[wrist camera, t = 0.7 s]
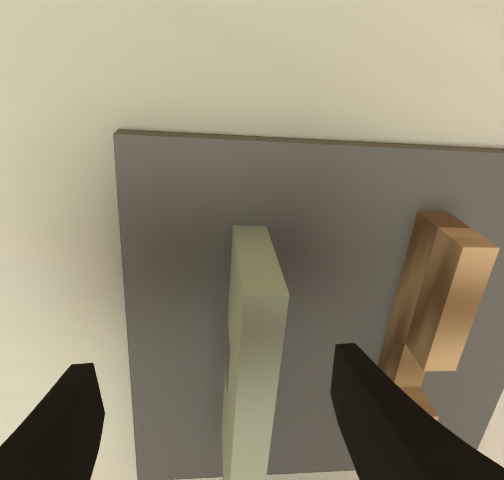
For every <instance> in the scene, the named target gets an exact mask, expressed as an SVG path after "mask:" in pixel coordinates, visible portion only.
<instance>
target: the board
mask: <svg viewBox="0 0 504 480" xmlns="http://www.w3.org/2000/svg"><path fill="white" fill-rule="evenodd" d="M113 138H114V152H115V166H116V180H117V195H118V209H119V223H120V237H121V251H122V266H123V280H124V294H125V308H126V323H127V337H128V351H129V365H130V379H131V394H132V408H133V422H134V436H135V450H136V465H137V479H138V480H174V479H194V478H213V477H223V460H222V437H221V432H222V414H223V396H224V378H225V365H229V362H230V343H229V331H228V305H229V287H230V269H231V251H232V233H233V225H243V226H267V229H268V232H269V235H270V238H271V241H272V244H273V247H274V250H275V253H276V256H277V259H278V262H279V265H280V268H281V271H282V274H283V277H284V280H285V283H286V286H287V289H288V292H289V303H288V310H287V318H286V326H285V334H284V342H283V349H282V357H281V365H280V373H279V381H278V388H277V396H276V404H275V412H274V420H273V428H272V435H271V443H270V451H269V459H268V467H267V474H266V475H273V474H292V473H312V472H332V471H351V470H355V467H354V465H353V462H352V459H351V457H350V454H349V452H348V449H347V447H346V444H345V441H344V439H343V436H342V434H341V431H340V428H339V425H338V422H337V418H336V414H335V411H334V407H333V403H332V399H331V395H330V390H331V381H332V371H333V362H334V353H335V344H345V343H356V344H357V345H358V346H359V347H360V348H361V349H362V350H363V351H364V352H365V353H366V354H367V356H368V357H369V358H370V359H371V360H372V361H373V362H374V363H375V364H376V365H377V366H378V363H379V359H380V356H381V352H382V348H383V344H384V340H385V336H386V332H387V328H388V324H389V320H390V317H391V313H392V309H393V305H394V301H395V297H396V293H397V289H398V285H399V281H400V277H401V274H402V270H403V266H404V262H405V258H406V254H407V250H408V246H409V242H410V238H411V235H412V231H413V227H414V223H415V219H416V215H417V211H438V212H449V213H451V214H452V215H453V216H455V217H456V218H458V219H459V220H461V221H462V222H463V223H465V224H466V225H468V226H469V227H471V228H472V229H473V230H475V231H476V232H478V233H479V234H481V235H482V236H484V237H485V238H486V239H488V240H489V241H491V242H492V243H494V244H495V245H496V246H498V247H499V248H500V249H499V252H498V254H497V257H496V260H495V263H494V265H493V268H492V271H491V274H490V277H489V279H488V282H487V285H486V288H485V290H484V293H483V296H482V299H481V301H480V304H479V307H478V310H477V313H476V315H475V318H474V321H473V324H472V326H471V329H470V332H469V335H468V338H467V340H466V343H465V346H464V349H463V351H462V354H461V357H460V360H459V363H458V365H457V368H456V371H425V374H424V378H423V381H422V384H421V389H422V390H423V392H424V393H425V395H426V397H427V398H428V400H429V401H430V403H431V405H432V406H433V408H434V409H435V411H436V413H437V414H438V416H439V418H438V422H439V423H441V424H442V425H443V426H444V427H446V428H447V429H449V430H450V431H451V432H453V433H454V434H455V435H457V436H458V437H459V438H461V439H462V440H463V441H465V442H466V443H467V444H469V445H470V446H472V447H473V448H475V449H476V450H477V449H478V446H479V444H480V442H481V439H482V437H483V435H484V432H485V430H486V428H487V426H488V423H489V421H490V419H491V416H492V414H493V412H494V409H495V407H496V405H497V403H498V400H499V398H500V396H501V393H502V391H503V389H504V149H492V148H472V147H453V146H433V145H413V144H393V143H374V142H354V141H334V140H314V139H295V138H275V137H255V136H236V135H216V134H196V133H176V132H157V131H137V130H117V131H116V132H115V133H114V134H113Z"/></svg>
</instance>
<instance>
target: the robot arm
mask: <svg viewBox="0 0 504 480" xmlns="http://www.w3.org/2000/svg"><path fill="white" fill-rule="evenodd" d="M330 395H331V399H332V403H333V407H334V411H335V414H336V418H337V422H338V425H339V428H340V431H341V434H342V436H343V439H344V441H345V444H346V447H347V449H348V452H349V454H350V457H351V459H352V462H353V465H354V467H355V470H356V472H357V475H358V477H359V480H504V468H503V467H502V466H500V465H499V464H497V463H496V462H494V461H493V460H491V459H489V458H488V457H486V456H485V455H483V454H482V453H480V452H479V451H477V450H476V449H475V448H473V447H472V446H470V445H469V444H467V443H466V442H465V441H463V440H462V439H461V438H459V437H458V436H457V435H455V434H454V433H453V432H451V431H450V430H449V429H447V428H446V427H444V426H443V425H442V424H441V423H439V422H438V421H437V420H436V419H434V418H433V417H432V416H431V415H430V414H429V413H427V412H426V411H425V410H424V409H423V408H422V407H420V406H419V405H418V404H417V403H416V402H415V401H414V400H413V399H411V398H410V397H409V396H408V395H407V394H406V393H405V392H404V391H403V390H402V389H401V388H400V387H399V386H398V385H396V384H395V383H394V382H393V381H392V380H391V379H390V378H389V377H388V376H387V375H386V374H385V373H384V372H383V371H382V370H381V369H380V368H379V367H378V366H377V365H376V364H375V363H374V362H373V361H372V360H371V359H370V358H369V357H368V356H367V354H366V353H365V352H364V351H363V350H362V349H361V348H360V347H359V346H358V345H357V344H356V343H345V344H335V353H334V362H333V371H332V381H331V390H330ZM104 416H105V411H104V407H103V403H102V398H101V394H100V390H99V385H98V381H97V377H96V372H95V368H94V364H93V363H84V364H72V365H71V366H70V367H69V368H68V369H67V370H66V371H65V373H64V374H63V375H62V376H61V377H60V379H59V380H58V381H57V382H56V384H55V385H54V386H53V387H52V388H51V390H50V391H49V392H48V393H47V394H46V396H45V397H44V398H43V399H42V400H41V402H40V403H39V404H38V405H37V406H36V407H35V409H34V410H33V411H32V412H31V413H30V414H29V415H28V417H27V418H26V419H25V420H24V421H23V422H22V423H21V425H20V426H19V427H18V428H17V429H16V430H15V431H14V432H13V433H12V434H11V435H10V437H9V438H8V439H7V440H6V441H5V442H4V443H3V444H2V445H1V446H0V480H90V479H91V475H92V472H93V468H94V465H95V461H96V458H97V454H98V451H99V446H100V440H101V435H102V429H103V422H104Z"/></svg>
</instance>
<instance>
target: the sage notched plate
mask: <svg viewBox="0 0 504 480" xmlns="http://www.w3.org/2000/svg"><path fill="white" fill-rule="evenodd" d="M288 303H289V292H288V289H287V286H286V283H285V280H284V277H283V274H282V271H281V268H280V265H279V262H278V259H277V256H276V253H275V250H274V247H273V244H272V241H271V238H270V235H269V232H268V229H267V226H243V225H233V233H232V251H231V269H230V287H229V305H228V331H229V343H230V362H229V365H225V378H224V396H223V414H222V432H221V437H222V460H223V480H266V474H267V467H268V459H269V451H270V443H271V435H272V428H273V420H274V412H275V404H276V396H277V388H278V381H279V373H280V365H281V357H282V349H283V342H284V334H285V326H286V318H287V310H288Z"/></svg>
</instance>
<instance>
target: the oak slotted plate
mask: <svg viewBox="0 0 504 480" xmlns="http://www.w3.org/2000/svg"><path fill="white" fill-rule="evenodd" d="M499 249H500V248H499V247H498V246H496V245H495V244H494V243H492V242H491V241H489V240H488V239H486V238H485V237H484V236H482V235H481V234H479V233H478V232H476V231H475V230H473V229H472V228H471V227H469V226H468V225H466V224H465V223H463V222H462V221H461V220H459V219H458V218H456V217H455V216H453V215H452V214H451V213H449V212H438V211H417V215H416V219H415V223H414V227H413V231H412V235H411V238H410V242H409V246H408V250H407V254H406V258H405V262H404V266H403V270H402V274H401V277H400V281H399V285H398V289H397V293H396V297H395V301H394V305H393V309H392V313H391V317H390V320H389V324H388V328H387V332H386V336H385V340H384V344H383V348H382V352H381V356H380V359H379V363H378V367H379V368H380V369H381V370H382V371H383V372H384V373H385V374H386V375H387V376H388V377H389V378H390V379H391V380H392V381H393V382H394V383H395V384H396V385H398V386H399V387H400V388H401V389H402V390H403V391H404V392H405V393H406V394H407V395H408V396H409V397H410V398H411V399H413V400H414V401H415V402H416V403H417V404H418V405H419V406H420V407H422V408H423V409H424V410H425V411H426V412H427V413H429V414H430V415H431V416H432V417H433V418H434V419H436V420H437V421H438V418H439V416H438V414H437V413H436V411H435V409H434V408H433V406H432V405H431V403H430V401H429V400H428V398H427V397H426V395H425V393H424V392H423V390H422V389H421V384H422V381H423V378H424V374H425V371H456V368H457V365H458V363H459V360H460V357H461V354H462V351H463V349H464V346H465V343H466V340H467V338H468V335H469V332H470V329H471V326H472V324H473V321H474V318H475V315H476V313H477V310H478V307H479V304H480V301H481V299H482V296H483V293H484V290H485V288H486V285H487V282H488V279H489V277H490V274H491V271H492V268H493V265H494V263H495V260H496V257H497V254H498V252H499Z"/></svg>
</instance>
